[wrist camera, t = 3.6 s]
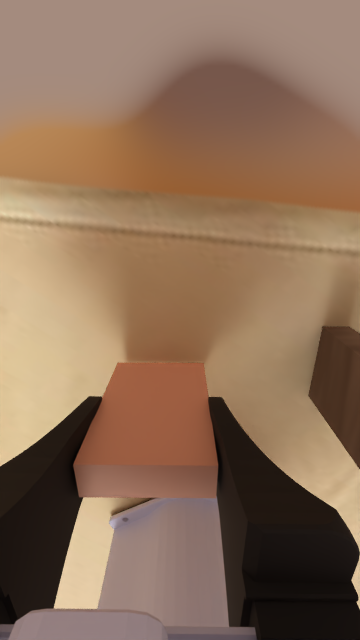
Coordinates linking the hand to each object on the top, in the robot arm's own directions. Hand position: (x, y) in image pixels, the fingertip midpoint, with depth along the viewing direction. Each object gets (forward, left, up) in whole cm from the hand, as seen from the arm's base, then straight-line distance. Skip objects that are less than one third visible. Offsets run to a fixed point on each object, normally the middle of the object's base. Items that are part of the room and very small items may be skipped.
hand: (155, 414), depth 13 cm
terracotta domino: (0, 0, -4) cm, 3 cm away
